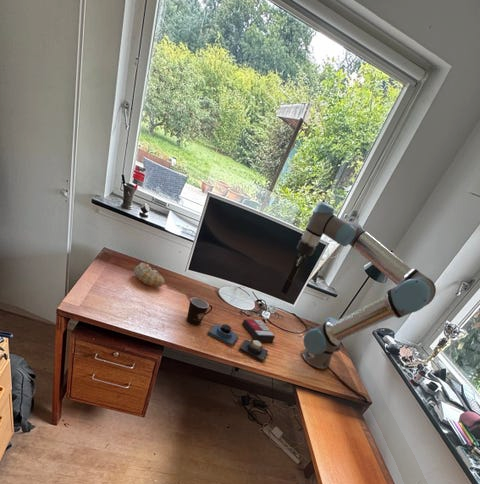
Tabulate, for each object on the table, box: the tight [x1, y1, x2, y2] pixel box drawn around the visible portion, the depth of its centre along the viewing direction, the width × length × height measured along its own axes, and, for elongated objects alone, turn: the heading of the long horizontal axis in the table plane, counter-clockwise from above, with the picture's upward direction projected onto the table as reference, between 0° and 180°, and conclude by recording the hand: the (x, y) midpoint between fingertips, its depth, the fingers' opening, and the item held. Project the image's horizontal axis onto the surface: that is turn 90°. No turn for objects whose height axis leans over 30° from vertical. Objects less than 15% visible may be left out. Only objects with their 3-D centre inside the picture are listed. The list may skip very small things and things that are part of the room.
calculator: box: [241, 318, 276, 343], centre depth 174 cm, size 11×4×15 cm
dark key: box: [221, 323, 232, 333], centre depth 158 cm, size 4×4×2 cm
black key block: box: [238, 339, 269, 363], centre depth 159 cm, size 12×10×4 cm
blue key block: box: [207, 323, 239, 347], centre depth 159 cm, size 12×10×4 cm
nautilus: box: [133, 261, 166, 288], centre depth 169 cm, size 8×22×15 cm
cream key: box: [252, 339, 263, 349], centre depth 158 cm, size 4×4×2 cm
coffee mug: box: [186, 297, 213, 326], centre depth 157 cm, size 12×9×10 cm
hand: (283, 292), depth 161 cm, fingers closed
